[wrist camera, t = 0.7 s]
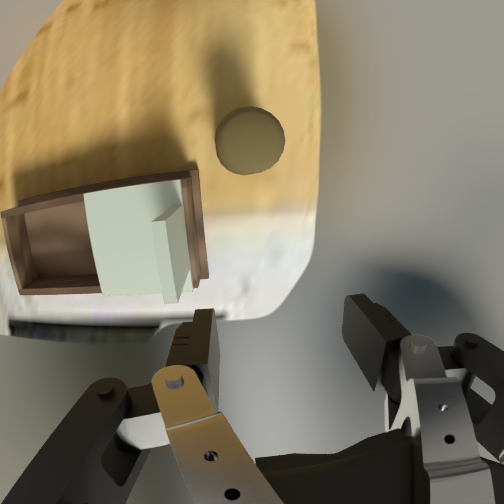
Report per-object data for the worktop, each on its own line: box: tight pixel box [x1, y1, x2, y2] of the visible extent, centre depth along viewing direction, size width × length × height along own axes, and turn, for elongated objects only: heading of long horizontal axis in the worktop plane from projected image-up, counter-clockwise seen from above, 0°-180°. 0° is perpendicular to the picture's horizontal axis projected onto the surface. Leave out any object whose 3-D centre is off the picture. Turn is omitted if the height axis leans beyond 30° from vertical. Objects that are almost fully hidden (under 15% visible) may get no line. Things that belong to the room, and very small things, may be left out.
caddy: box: [1, 169, 209, 295], centre depth 29 cm, size 12×24×5 cm, turn 93°
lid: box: [84, 179, 194, 304], centre depth 23 cm, size 11×10×8 cm
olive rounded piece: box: [215, 107, 285, 175], centre depth 24 cm, size 6×6×11 cm
